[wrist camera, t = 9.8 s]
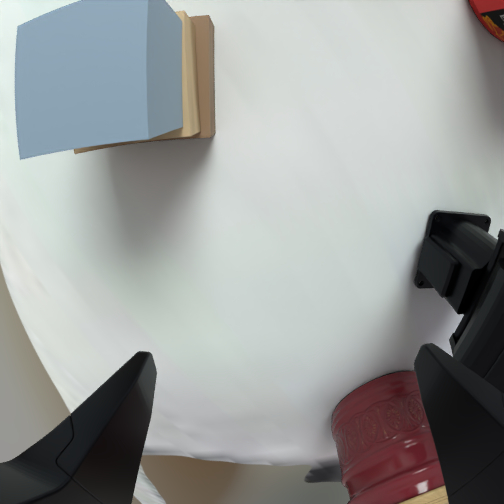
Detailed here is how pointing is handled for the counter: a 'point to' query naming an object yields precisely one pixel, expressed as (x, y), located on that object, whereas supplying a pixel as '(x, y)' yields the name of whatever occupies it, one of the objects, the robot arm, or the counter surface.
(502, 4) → the canned food
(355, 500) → the canister
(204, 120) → the tower base
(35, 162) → the counter surface
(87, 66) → the block
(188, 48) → the tower mid
